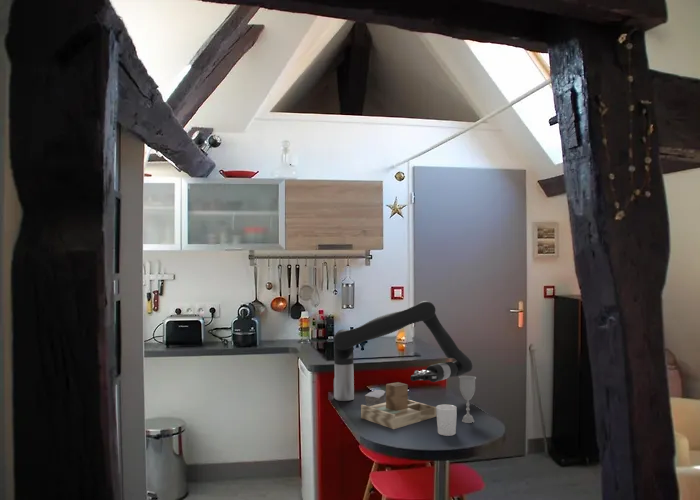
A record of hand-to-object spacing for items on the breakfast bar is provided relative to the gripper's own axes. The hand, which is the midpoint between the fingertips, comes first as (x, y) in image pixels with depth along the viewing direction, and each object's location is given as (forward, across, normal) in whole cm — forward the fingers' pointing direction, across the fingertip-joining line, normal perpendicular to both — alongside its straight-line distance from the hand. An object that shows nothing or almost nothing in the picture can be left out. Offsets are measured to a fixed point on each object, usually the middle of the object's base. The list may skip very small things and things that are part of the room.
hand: (411, 378), depth 231 cm
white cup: (+9, +27, +16) cm, 32 cm away
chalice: (-9, +23, +16) cm, 29 cm away
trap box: (+8, 0, +15) cm, 17 cm away
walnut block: (+9, 0, +11) cm, 14 cm away
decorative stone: (+6, -18, +15) cm, 24 cm away
